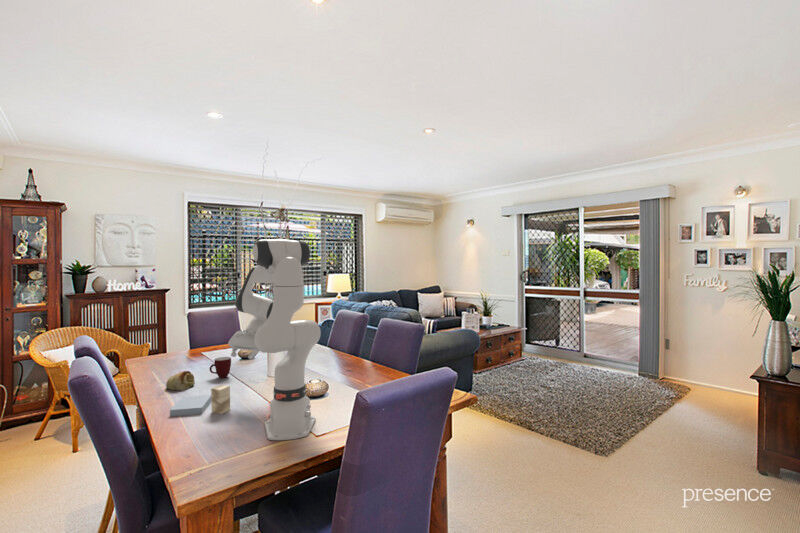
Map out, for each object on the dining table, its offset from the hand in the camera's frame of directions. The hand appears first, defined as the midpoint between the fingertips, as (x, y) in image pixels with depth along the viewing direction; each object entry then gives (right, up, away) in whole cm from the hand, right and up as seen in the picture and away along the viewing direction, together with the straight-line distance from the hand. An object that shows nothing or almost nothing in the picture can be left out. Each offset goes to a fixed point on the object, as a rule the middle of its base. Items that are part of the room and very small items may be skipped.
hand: (241, 357), depth 178 cm
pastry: (-39, -20, +22) cm, 49 cm away
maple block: (-4, -20, -11) cm, 23 cm away
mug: (-25, -19, +36) cm, 48 cm away
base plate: (-18, -20, -7) cm, 28 cm away
